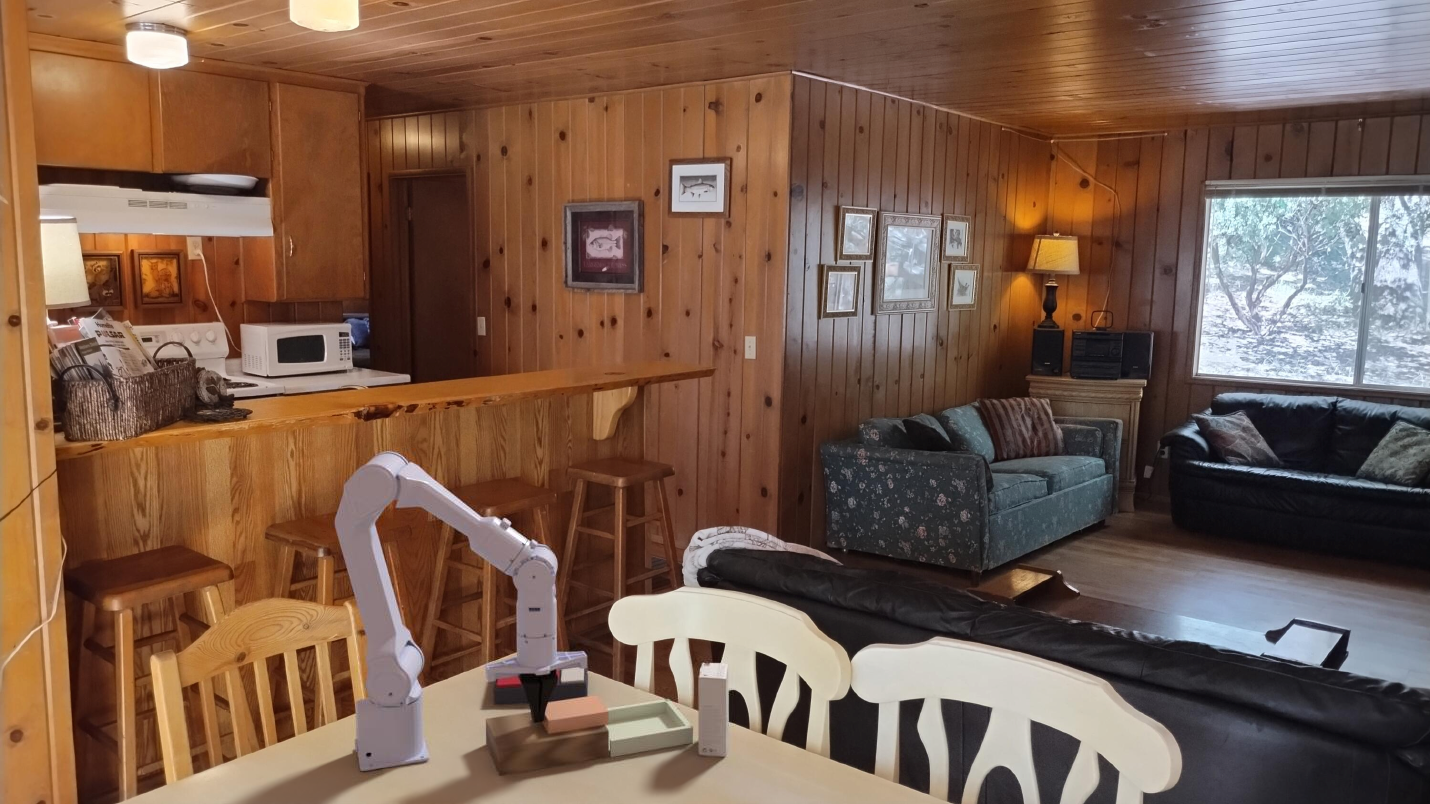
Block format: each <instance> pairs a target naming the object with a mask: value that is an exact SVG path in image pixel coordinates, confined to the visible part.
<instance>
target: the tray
mask: <svg viewBox="0 0 1430 804" xmlns="http://www.w3.org/2000/svg"><path fill="white" fill-rule="evenodd" d="M606 708H607V707H606ZM607 710H608V711H609V724H606V725H605V726H606V727H607V729H608V730H609V756H610V758H614V757H618V756H624V755H631V754H636V753H637V754H638V753H643V752H647V751H654V750H659V749H664V748H671V747H676V746H682V745H688V744H693V743H694V726H693V725H692V724H691V723H690V722H689V720H688V719H687V718H686V717H685V716H684V715H683V714H682V712H681V711H680V710H679V709H678V707H676V705H675V704H674V703H673V702H672V701H671V700H670V698H667V699H666V698H665V699H657V700H652V701H645V702H639V703H634V704H627V705H621V706H614V707H608V708H607Z"/></svg>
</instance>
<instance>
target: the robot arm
mask: <svg viewBox="0 0 1430 804" xmlns="http://www.w3.org/2000/svg"><path fill="white" fill-rule="evenodd" d="M394 500H397V501H396V505H395V508H396V509H397V508H399V509H402V508H403V509H404V508H415V507H417V508H418V507H419V508H422V509H424V510H425V511H426V512H429V513H430V514H431V515H432V516H435V517H436V518H437V519H439V520H441V521H443V522H444V523H445V524H447V525H449V526H451V527H452V528H454V529H455V530H457V531H458V532H460V533H462V534H463V535H465V536H467V538H468V543H469V547H470V550H471V551H473V552H474V553H475V554H477V555H478V556H479V557H481V558H482V559H484V560H485V561H487V562H488V563H489V564H491V565H492V566H494V567H495V568H497V569H498V570H499V571H501V572H502V573H504V574H505V575H508V576H510V577H512V582H513V584H514V587H515V588H516V590H517V600H516V606H515V607H516V656H514V657H510V658H507V659H504V660H501V661H500V660H499V661H496V662H492V663H486V664H485V678H486V680H487V682H488V683H491V682H495V681H496V679H499V678H507V677H514V676H518V678H519V680H520V682H521V684H522V686H523V689H524V691H525V694H526V696H527V699H528V702H529V704H528V706H529V709H530V711H529V712H531V718H532V720H533V722H534V723H539V722H543V721H544V715H545V711H546V707H547V704H548V701H549V699H550V696H551V694H552V692H553V690H554V688H555V687H556V685H557V683H558V675H557V674H556V670H563V669H570V668H577V667H579V668H580V669H583V668H587V666H588V655H587V654H586V652H585V651H583V650H582V651H581V650H580V651H557V650H558V645H557V644H558V642H557V641H558V640H557V639H558V638H557V635H558V633H557V632H558V631H557V630H558V629H557V628H558V626H557V625H558V623H557V619H558V618H557V617H558V616H557V615H558V613H557V611H558V610H557V598H556V595H557V589H556V575H557V573H558V572H557V571H558V559H557V557H556V554H555V552H553V551H552V550H551V549H550V547H549V546H548V545H546V544H541V543H538V542H537V540H534V539H531V540H529V539H528V538H526V537H525V536H523V535H522V534H521V533H519V532H518V531H517V530H516V529H514V528H513V527H511V525H512V522H511V521H510V520H509V519H508V518H505V517H504V518H503V519H502V520H501V518H499V517H497V516H487V517H485V516H484V517H483V516H481V515H480V514H478V513H477V512H476V511H474V510H473V508H471V507H470V506H468V505H467V504H466V503H465V502H463V501H462V500H461V499H460V498H458V497H457V496H456V495H455V494H453V493H452V492H450V490H448V489H446V488H445V486H443V485H442V484H440V483H439V482H438V481H436V480H435V479H434V478H433V477H431V475H429V473H427V472H426V471H425V470H424V469H423V468H422V467H420V465H418V464H416V463H414V462H412V461H410V462H409V461H408V460H407V459H406V458H405V457H404V456H403V455H402V454H399V453H398V452H396V451H395V452H394V451H390V450H389V451H381V452H379V453H377V454H375V455H374V456H373V457H372V458H371V459H370V460H369V461H368V462H367V463H365V464H364V465H362V466H360V467H359V468H357V470H356V471H355V472H354V473H353V474H352V476H350V477H349V479H348V480H347V481H346V482H345V484H344V485H343V494H342V496H341V499H340V503H339V506H338V508H337V513H336V515H335V517H334V527H335V532H336V534H337V535H336V536H337V538H338V542H339V546H340V548H341V552H342V555H343V559H344V563H345V566H346V569H347V573H348V576H349V577H348V578H349V579H350V580H349V581H350V585H351V587H352V591H353V594H354V598H355V602H356V605H357V608H358V612H359V616H360V619H361V622H362V625H363V629H364V633H365V636H366V640H367V641H366V642H367V643H366V652H365V663H366V666H367V667H366V668H367V676H366V679H365V680H366V681H365V688H366V692H367V694H368V696H367V697H364V698H362V699H359V700H356V701H355V731H356V735H355V736H356V738H355V739H354V748H355V752H356V753H357V757H358V764H359V770H360V772H361V771H362V772H365V771H366V772H367V771H372V770H377V769H383V768H390V767H396V766H402V765H403V766H404V765H408V764H414V763H419V762H427V761H429V760H430V754H429V750H428V748H427V744H426V740H425V737H424V722H423V721H424V717H423V716H424V715H423V712H424V711H423V706H424V705H423V687H422V686H421V685H420V683H419V680H418V676H419V675H420V674H421V673H422V671H423V668H424V666H425V656H424V653H423V651H422V649H421V648H420V647H419V646H418V645H417V644H416V643H415V642H414V640H413V637H412V635H411V631H410V630H409V629H408V628H407V627H406V626H405V625H404V624H403V620H402V617H401V613H400V611H399V606H398V603H397V598H396V596H395V591H394V588H393V584H392V581H391V580H392V579H391V577H390V575H389V570H388V565H387V564H386V559H385V556H384V553H383V548H382V545H381V541H380V537H379V534H378V531H377V526H376V522H377V520H378V519H379V517H380V516H381V515H382V513H383V512H384V510H385V508H386V507H387V506H389V505H390V504H391V503H392V502H393V501H394Z"/></svg>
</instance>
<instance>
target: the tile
mask: <svg viewBox="0 0 1430 804" xmlns="http://www.w3.org/2000/svg"><path fill="white" fill-rule="evenodd" d="M542 723H543V724H544V726H545V728H546V730H547V732H548V734H551V733H557V732H563V731H569V730H575V729H582V728H588V727H594V726H600V725H606V724H609V711H608V710H607V707H606V705H605V704H604V703H603V701H602V700H601V698H600V697H599V695H598V694H595V695H590V696H588V697H581V698H575V699H568V700H561V701H554V702H548V704H547V707H546V711H545V715H544V721H543V722H542Z"/></svg>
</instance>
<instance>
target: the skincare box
mask: <svg viewBox="0 0 1430 804" xmlns="http://www.w3.org/2000/svg"><path fill="white" fill-rule="evenodd" d="M697 679H698V680H697V681H698V684H697V686H698V688H697V689H698V692H697V693H698V694H697V695H698V699H697V700H698V754H699V755H700V756H704V757H705V756H706V757H726V756H727V754H728V749H729V745H730V744H729V743H730V742H729V740H730V737H729V735H730V730H729V729H730V728H729V725H730V724H729V723H730V721H729V719H730V717H729V716H730V715H729V713H730V712H729V710H730V709H729V707H730V706H729V704H730V703H729V699H730V697H729V694H730V693H729V691H730V689H729V664H728V663H723V662H722V663H719V662H702V663H701V666H700V669H699V674H698V678H697Z"/></svg>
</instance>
